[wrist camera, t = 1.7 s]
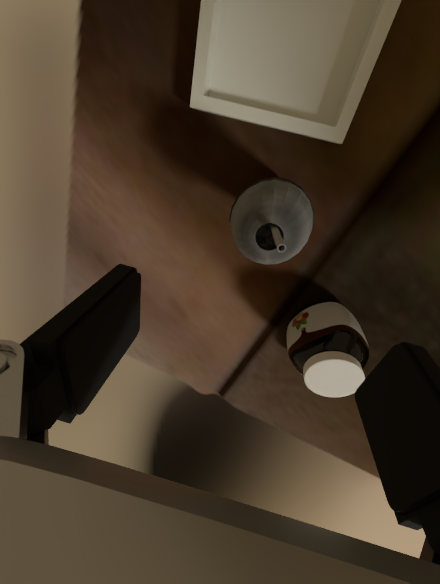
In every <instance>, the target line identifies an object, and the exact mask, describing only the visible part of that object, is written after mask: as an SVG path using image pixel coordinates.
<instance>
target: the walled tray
mask: <svg viewBox="0 0 440 584" xmlns="http://www.w3.org/2000/svg"><path fill="white" fill-rule="evenodd" d="M400 3H401V0H201V6H200V15H199V25H198V34H197V43H196V53H195V62H194V71H193V81H192V90H191V99H190V107H191V108H193V109H196V110H199V111H203V112H208V113H212V114H216V115H220V116H224V117H228V118H232V119H236V120H241V121H245V122H249V123H253V124H257V125H261V126H265V127H269V128H273V129H278V130H282V131H286V132H290V133H294V134H298V135H302V136H306V137H311V138H315V139H319V140H323V141H327V142H331V143H335V144H342V143H343V141H344V138H345V136H346V133H347V131H348V129H349V126H350V124H351V121H352V119H353V117H354V114H355V112H356V109H357V107H358V104H359V102H360V100H361V97H362V95H363V92H364V90H365V87H366V85H367V83H368V80H369V78H370V75H371V73H372V70H373V68H374V66H375V63H376V61H377V58H378V56H379V54H380V51H381V49H382V46H383V44H384V41H385V39H386V37H387V34H388V32H389V29H390V27H391V24H392V22H393V20H394V17H395V15H396V12H397V10H398V8H399V5H400Z"/></svg>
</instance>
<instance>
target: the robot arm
mask: <svg viewBox="0 0 440 584" xmlns="http://www.w3.org/2000/svg"><path fill="white" fill-rule="evenodd" d="M140 295H141V274H140V273H137V270H136V268H134V267H130V266H126V265H123V264H119V265H117V266H116V267H115V268H113V269H112V270H111V271H110V272H108V273H107V274H106V275H105V276H104V277H102V278H101V279H100V280H99V281H97V282H96V283H95V284H94V285H92V286H91V287H90V288H89V289H87V290H86V291H85V292H84V293H83V294H81V295H80V296H79V297H78V298H76V299H75V300H74V301H73V302H71V303H70V304H69V305H68V306H66V307H65V308H64V309H63V310H61V311H60V312H59V313H58V314H57V315H55V316H54V317H53V318H52V319H50V320H49V321H48V322H47V323H46V324H44V325H43V326H42V327H40V328H39V329H38V330H37V331H35V332H34V333H33V334H32V335H31V336H29V337H28V338H27V339H26V340H24V341H23V342H22V343H21V344H18V343H16V342H13V341H9V340H0V584H440V369H439V367H438V366H437V364H436V363H435V362H434V360H433V359H432V358H431V356H430V355H429V353H428V352H427V351H426V349H424V348H423V347H421V346H418V345H414V344H410V343H407V342H402V343H400V344H398V345H397V344H396V345H394V346H393V347H392V348H391V349H390V350H389V352H388V353H387V354H386V355H385V356H384V358H383V359H382V360H381V361H380V362H379V363H378V365H377V366H376V367H375V368H374V369H373V371H372V372H371V373H370V374H369V375H368V376H367V378H366V379H365V380H364V381H363V382H362V384H361V385H360V386H359V387H358V388H357V390H356V392H355V400H356V403H357V407H358V410H359V413H360V416H361V419H362V422H363V425H364V429H365V432H366V435H367V438H368V441H369V444H370V447H371V451H372V454H373V457H374V460H375V463H376V466H377V469H378V473H379V476H380V479H381V482H382V485H383V488H384V491H385V495H386V497H387V501H388V503H389V505H390V507H391V508H392V509H393V510H394V512H395V515H396V518H397V521H398V524H399V525H403V526H406V527H409V528H412V529H415V530H419V529H421V528H423V530H424V532H425V535H426V538H425V542H424V545H423V548H422V552H421V555H420V558H419V559H418V558H416V557H412V556H409V555H406V554H403V553H400V552H396V551H393V550H390V549H387V548H384V547H381V546H378V545H375V544H371V543H368V542H365V541H362V540H359V539H356V538H352V537H349V536H346V535H343V534H340V533H336V532H333V531H330V530H327V529H324V528H321V527H317V526H314V525H311V524H308V523H304V522H301V521H298V520H295V519H292V518H289V517H285V516H282V515H279V514H276V513H272V512H269V511H266V510H263V509H260V508H256V507H253V506H250V505H247V504H244V503H240V502H237V501H234V500H231V499H228V498H224V497H221V496H218V495H215V494H211V493H208V492H205V491H202V490H198V489H195V488H192V487H189V486H185V485H182V484H179V483H175V482H172V481H169V480H166V479H162V478H159V477H156V476H153V475H149V474H146V473H143V472H139V471H136V470H133V469H130V468H126V467H123V466H120V465H116V464H113V463H109V462H106V461H103V460H99V459H96V458H92V457H89V456H85V455H82V454H78V453H75V452H71V451H68V450H64V449H60V448H57V447H54V446H50V445H49V444H48V429H50V428H51V427H52V425H53V424H54V423H55V422H56V420H60V421H63V422H67V423H71V422H72V420H73V419H74V417H75V416H76V415H77V414H79V415H80V414H82V413H83V412H84V411H85V410H86V409H87V407H88V406H89V404H90V403H91V401H92V400H93V398H94V397H95V396H96V394H97V393H98V391H99V390H100V388H101V387H102V385H103V384H104V383H105V381H106V379H107V378H108V377H109V375H110V374H111V372H112V371H113V370H114V368H115V367H116V365H117V364H118V362H119V361H120V359H121V358H122V357H123V355H124V354H125V352H126V351H127V349H128V348H129V347H130V345H131V344H132V342H133V341H134V339H135V338H136V336H137V334H138V332H139V328H140Z"/></svg>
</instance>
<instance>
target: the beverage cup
mask: <svg viewBox="0 0 440 584" xmlns="http://www.w3.org/2000/svg"><path fill="white" fill-rule="evenodd" d="M313 218H314V211H313V207H312V204H311V201H310V198H309V197H308V196H307V194H306V193H305V192H304V190H303V189H302V188H301V187H300V186H298V185H297V184H295V183H293V182H292V181H290V180H287V179H282V178H277V177H273V178H266V179H260V180H258V181H256V182H254V183H252V184H250V185H248V186H247V187H246V188H245V189H244V190H243V191H242V192H241V193H240V194H239V195H238V197H237V198H236V200H235V202H234V204H233V206H232V209H231V214H230V228H231V235H232V238H233V240H234V243H235V245H236V247H237V248H238V249H239V250H240V251H241V253H242V254H243V255H244V256H245V257H247V258H249V259H251V260H252V261H254V262H257V263H261V264H278V263H281V262H284V261H287V260H289V259H290V258H292V257H293V256H295V255H296V254H297V253H299V252H300V250H301V249H302V248H303V247H304V245H305V244H306V243H307V241H308V238H309V235H310V233H311V230H312V227H313Z"/></svg>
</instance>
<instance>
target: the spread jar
mask: <svg viewBox="0 0 440 584" xmlns="http://www.w3.org/2000/svg"><path fill="white" fill-rule="evenodd" d="M287 350H288V355H289V357H290V359H291V361H292V363H293V365H294V366H295V367H296V369H297V370H298V371H299V372H300V373H301V374H302V375H303V376H304V382H305V384H306V386H307V387H308V388H309V389H310V390H311V391H313V392H315V393H316V394H319V395H321V396H326V397H344V396H348V395H350V394H353V393H355V392H356V390H357V388H358V387H359V386H360V385H361V384H362V382H363V381H364V380H365V376H364V373H363V370H362V369H363V368H364V366H365V365H366V363H367V361H368V358H369V347H368V343H367V341H366V338H365V336H364V334H363V331H362V329H361V327H360V325H359V323H358V322H357V320H356V319H355V317H354V316H353V315H352V313H351V312H350V311H349V310H348V309H346V308H345V307H344V306H343V305H341V304H339V303H336V302H332V301H323V302H317V303H313V304H311V305H308V306H306V307H305V308H303V309H302V310H301V311H299V312H298V313H297V314H296V315H295V317H294V318H293V319H292V320H291V322H290V323H289V325H288V328H287Z"/></svg>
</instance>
